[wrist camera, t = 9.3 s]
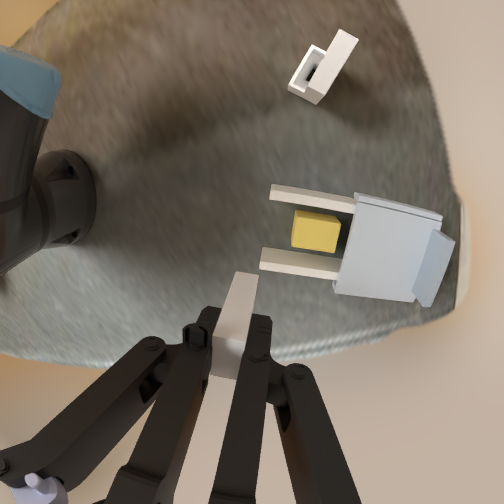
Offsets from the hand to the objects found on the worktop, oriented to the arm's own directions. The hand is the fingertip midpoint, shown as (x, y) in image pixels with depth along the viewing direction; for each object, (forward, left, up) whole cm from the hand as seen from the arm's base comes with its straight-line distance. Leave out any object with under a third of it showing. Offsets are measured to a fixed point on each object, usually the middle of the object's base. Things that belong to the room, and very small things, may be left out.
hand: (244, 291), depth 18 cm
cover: (+15, 0, -13) cm, 20 cm away
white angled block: (+4, +18, -17) cm, 25 cm away
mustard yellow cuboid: (+6, 0, -17) cm, 18 cm away
